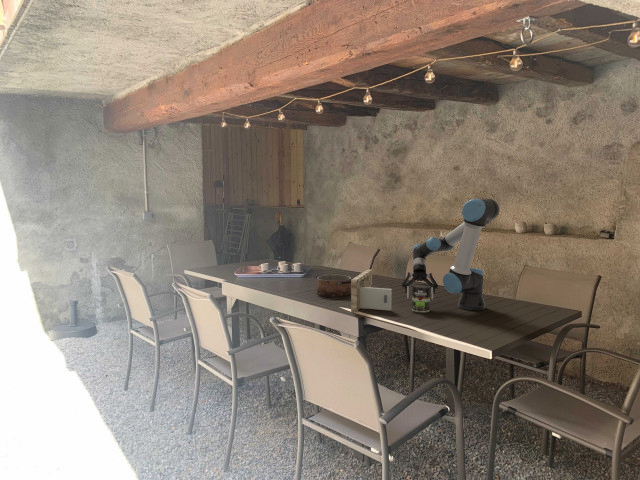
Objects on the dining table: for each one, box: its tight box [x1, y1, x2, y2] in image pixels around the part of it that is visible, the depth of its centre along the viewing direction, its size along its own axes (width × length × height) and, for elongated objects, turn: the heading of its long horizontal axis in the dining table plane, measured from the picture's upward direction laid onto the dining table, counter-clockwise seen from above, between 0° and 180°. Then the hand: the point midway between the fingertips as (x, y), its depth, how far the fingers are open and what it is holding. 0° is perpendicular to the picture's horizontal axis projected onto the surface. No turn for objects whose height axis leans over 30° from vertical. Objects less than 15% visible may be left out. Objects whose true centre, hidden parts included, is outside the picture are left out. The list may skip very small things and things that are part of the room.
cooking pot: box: [315, 274, 352, 298], centre depth 306 cm, size 30×22×11 cm
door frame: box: [350, 269, 373, 313], centre depth 275 cm, size 38×3×18 cm, turn 161°
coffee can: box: [411, 283, 431, 313], centre depth 261 cm, size 10×10×14 cm
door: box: [359, 286, 393, 311], centre depth 262 cm, size 20×3×12 cm, turn 71°
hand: (420, 297), depth 261 cm, fingers open, 13 cm apart
